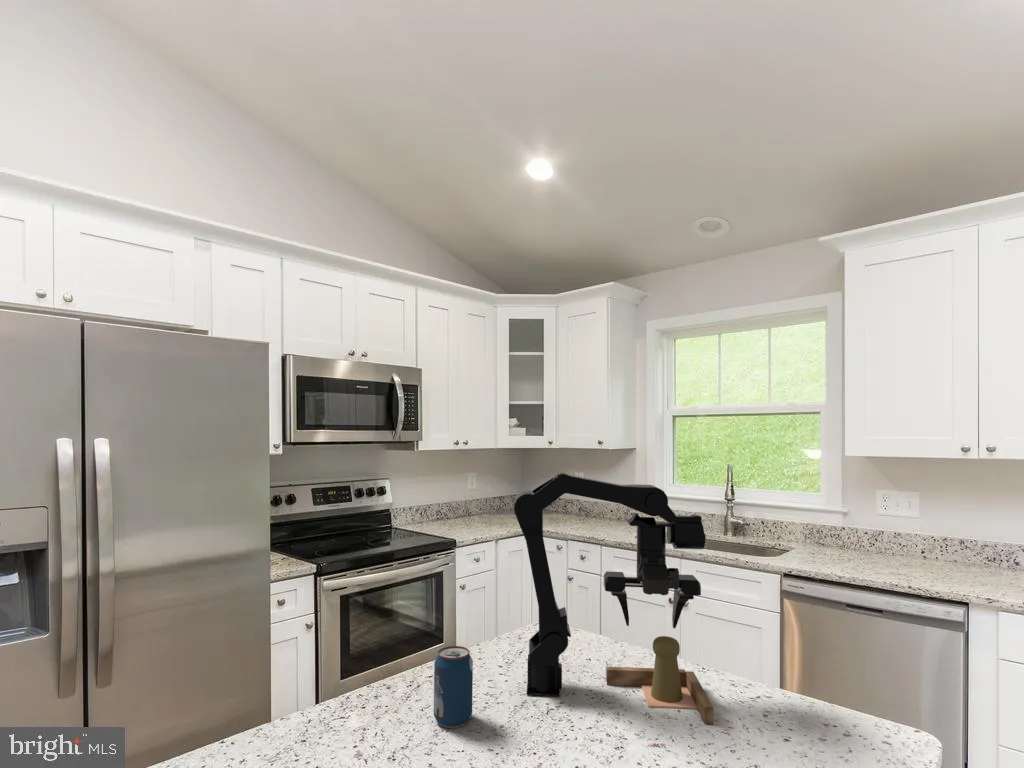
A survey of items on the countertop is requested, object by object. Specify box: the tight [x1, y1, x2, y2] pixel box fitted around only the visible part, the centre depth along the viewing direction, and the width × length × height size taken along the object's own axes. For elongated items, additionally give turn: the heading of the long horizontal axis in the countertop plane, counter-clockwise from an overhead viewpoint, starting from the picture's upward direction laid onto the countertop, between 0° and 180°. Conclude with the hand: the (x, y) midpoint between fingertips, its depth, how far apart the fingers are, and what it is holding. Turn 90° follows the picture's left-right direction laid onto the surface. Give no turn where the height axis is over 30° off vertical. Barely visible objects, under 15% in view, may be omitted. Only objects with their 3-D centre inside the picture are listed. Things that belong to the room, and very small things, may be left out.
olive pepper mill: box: [651, 635, 683, 703], centre depth 118 cm, size 6×6×11 cm
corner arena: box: [605, 666, 715, 725], centre depth 116 cm, size 18×17×3 cm
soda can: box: [433, 645, 474, 729], centre depth 108 cm, size 7×7×12 cm
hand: (650, 626), depth 121 cm, fingers open, 9 cm apart
